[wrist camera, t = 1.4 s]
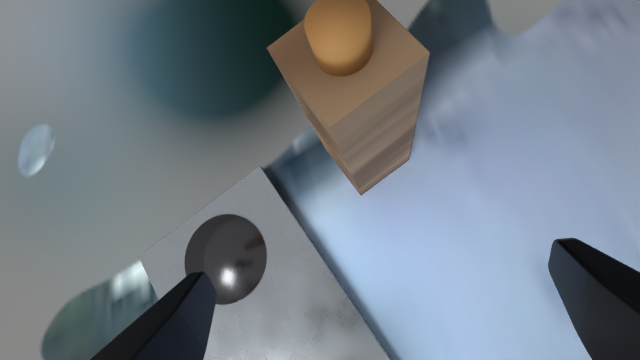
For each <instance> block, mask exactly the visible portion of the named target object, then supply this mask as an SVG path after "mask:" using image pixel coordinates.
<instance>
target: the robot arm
mask: <svg viewBox="0 0 640 360" xmlns="http://www.w3.org/2000/svg"><path fill="white" fill-rule="evenodd" d="M548 268H549V272H550V275H551V277H552V279H553V282H554V284H555V286H556V288H557V290H558V293H559V295H560V297H561V299H562V301H563V304H564V306H565V308H566V310H567V312H568V315H569V317H570V319H571V321H572V323H573V326H574V328H575V330H576V332H577V334H578V336H579V338H580V339H581V341H582V343H583V345H584V347H585V348H586V350H587V352H588V353H589V355H590V357H591V358H592V360H640V272H638V271H636V270H634V269H633V268H631V267H629V266H627V265H625V264H623V263H621V262H619V261H618V260H616V259H614V258H612V257H610V256H608V255H606V254H604V253H603V252H601V251H599V250H597V249H595V248H593V247H591V246H589V245H588V244H586V243H584V242H582V241H580V240H578V239H576V238H564V239H556V240H554V242H553V244H552V248H551V253H550V258H549V262H548ZM216 300H217V292H216V289H215V287H214V285H213V283H212V281H211V280H210V278H209V276H208V274H207V273H206V272H204V271H200V272H192V273H190V274H188V275H187V276H186V277H185V278H184V279H182V280H181V281H180V282H179V283H178V284H177V285H176V286H174V287H173V288H172V289H171V290H170V291H169V292H167V293H166V294H165V295H164V296H163V297H162V298H161V299H159V300H158V301H157V302H156V303H155V304H154V305H152V306H151V307H150V308H149V309H148V310H147V311H145V312H144V313H143V314H142V315H141V316H140V317H139V318H137V319H136V320H135V321H134V322H133V323H132V324H130V325H129V326H128V327H127V328H126V329H125V330H123V331H122V332H121V333H120V334H119V335H118V336H117V337H115V338H114V339H113V340H112V341H111V342H110V343H108V344H107V345H106V346H105V347H104V348H103V349H101V350H100V351H99V352H98V353H97V354H96V355H95V356H93V357H92V358H91V359H90V360H203V359H204V356H205V352H206V348H207V344H208V339H209V334H210V329H211V324H212V320H213V315H214V310H215V305H216Z"/></svg>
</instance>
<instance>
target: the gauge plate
mask: <svg viewBox="0 0 640 360" xmlns="http://www.w3.org/2000/svg"><path fill="white" fill-rule="evenodd" d="M139 258H140V260H141V262H142V265H143V267H144V269H145V271H146V273H147V275H148V277H149V280H150V282H151V284H152V286H153V288H154V290H155V292H156V295H157V297H158V299H161V298H162V297H163V296H164V295H165V294H166V293H167V292H169V291H170V290H171V289H172V288H173V287H174V286H176V285H177V284H178V283H179V282H180V281H181V280H182V279H184V278H185V277H186V276H187V275H188V274H190V273H192V272H200V271H204V272H206V273H207V274H208V276H209V278H210V280H211V281H212V283H213V285H214V287H215V289H216V292H217V300H216V305H215V310H214V315H213V320H212V324H211V329H210V334H209V339H208V344H207V348H206V352H205V356H204V359H203V360H391V359H390V357H389V356H388V354H387V353H386V351H385V350H384V348H383V347H382V345H381V344H380V342H379V341H378V339H377V338H376V336H375V335H374V333H373V332H372V330H371V329H370V327H369V326H368V324H367V323H366V321H365V320H364V318H363V317H362V315H361V314H360V312H359V311H358V309H357V308H356V306H355V305H354V303H353V302H352V300H351V299H350V298H349V296H348V295H347V293H346V292H345V290H344V289H343V287H342V286H341V284H340V283H339V281H338V280H337V278H336V277H335V275H334V274H333V272H332V271H331V269H330V268H329V266H328V265H327V263H326V262H325V260H324V259H323V257H322V256H321V254H320V253H319V251H318V250H317V248H316V247H315V245H314V244H313V242H312V241H311V239H310V238H309V236H308V235H307V233H306V232H305V231H304V229H303V228H302V226H301V225H300V223H299V222H298V220H297V219H296V217H295V216H294V214H293V213H292V211H291V210H290V208H289V207H288V205H287V204H286V202H285V201H284V199H283V198H282V196H281V195H280V193H279V192H278V190H277V189H276V187H275V186H274V184H273V183H272V181H271V180H270V178H269V177H268V175H267V174H266V172H265V171H264V169H263V168H262V167H260V166H258V167H257V168H256V169H254V170H253V171H252V172H250V173H249V174H248V175H246V176H245V177H244V178H242V179H241V180H240V181H238V182H237V183H236V184H234V185H233V186H232V187H230V188H229V189H228V190H226V191H225V192H224V193H222V194H221V195H220V196H218V197H217V198H216V199H214V200H213V201H212V202H210V203H209V204H208V205H206V206H205V207H204V208H202V209H201V210H200V211H199V212H197V213H196V214H194V215H193V216H192V217H191V218H189V219H188V220H186V221H185V222H184V223H182V224H181V225H180V226H178V227H177V228H176V229H175V230H173V231H172V232H170V233H169V234H168V235H166V236H165V237H164V238H163V239H161V240H160V241H159V242H157V243H156V244H155V245H153V246H152V247H151V248H149V249H148V250H147V251H145V252H144V253H143V254H141V255H140V256H139Z"/></svg>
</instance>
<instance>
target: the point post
mask: <svg viewBox="0 0 640 360" xmlns="http://www.w3.org/2000/svg"><path fill="white" fill-rule="evenodd" d="M267 49H268V51H269V52H270V54H271V56H272V58H273V59H274V61H275V63H276V64H277V66H278V68H279V70H280V71H281V73H282V75H283V76H284V78H285V80H286V82H287V83H288V85H289V87H290V89H291V90H292V92H293V94H294V95H295V97H296V99H297V101H298V102H299V104H300V106H301V107H302V109H303V111H304V113H305V114H306V116H307V118H308V119H309V121H310V123H311V125H312V126H313V128H314V130H315V131H316V133H317V135H318V137H319V138H320V140H321V142H322V143H323V145H324V147H325V149H326V150H327V152H328V153H329V154H330V156H331V157H332V158H333V160H334V161H335V162H336V164H337V165H338V166H339V168H340V169H341V170H342V171H343V173H344V174H345V175H346V177H347V178H348V179H349V181H350V182H351V183H352V184H353V186H354V187H355V188H356V190H357V191H358V192H359V194H360V195H362V194H364V193H365V192H366V191H368V190H369V189H370V188H372V187H373V186H374V185H376V184H377V183H378V182H380V181H381V180H382V179H384V178H385V177H387V176H388V175H389V174H391V173H392V172H393V171H395V170H396V169H397V168H399V167H400V166H401V165H403V164H404V163H405V162H407V161H408V160H409V157H410V152H411V146H412V141H413V136H414V131H415V126H416V121H417V116H418V111H419V106H420V100H421V95H422V90H423V85H424V80H425V75H426V70H427V65H428V59H429V54H430V52H429V51H428V50H427V49H426V48H425V47H424V46H423V45H422V44H421V43H420V42H419V41H418V40H417V39H416V38H415V37H414V36H413V35H411V34H410V33H409V32H408V31H407V30H406V29H405V28H404V27H403V26H402V25H401V24H400V23H399V22H398V21H397V20H396V19H395V18H394V17H393V16H392V15H391V14H390V13H389V12H388V11H387V10H386V9H385V8H384V7H382V5H381V4H380V3H379V2H377V0H317V1H315V2H314V3H313V4H312V5H311V7H310V8H309V10H308V11H307V14H306V16H305V19H304V20H303V21H302V22H300V23H299V24H297V25H296V26H295V27H294V28H292V29H291V30H290V31H288V32H287V33H286V34H285V35H283V36H282V37H280V38H279V39H278V40H277V41H275V42H274V43H273V44H271V45H270V46H269V47H267Z"/></svg>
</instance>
